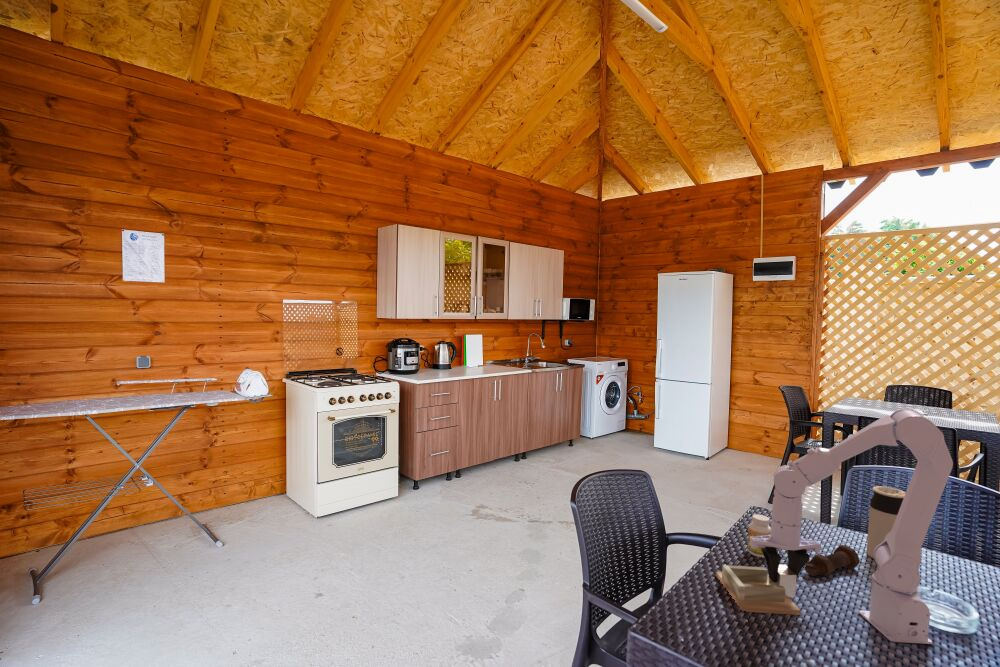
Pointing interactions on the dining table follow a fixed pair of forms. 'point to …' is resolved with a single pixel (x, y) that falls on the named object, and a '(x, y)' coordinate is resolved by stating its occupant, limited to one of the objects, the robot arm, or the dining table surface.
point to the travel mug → (882, 514)
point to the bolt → (832, 561)
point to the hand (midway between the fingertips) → (782, 580)
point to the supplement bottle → (758, 532)
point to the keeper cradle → (755, 590)
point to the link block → (786, 580)
